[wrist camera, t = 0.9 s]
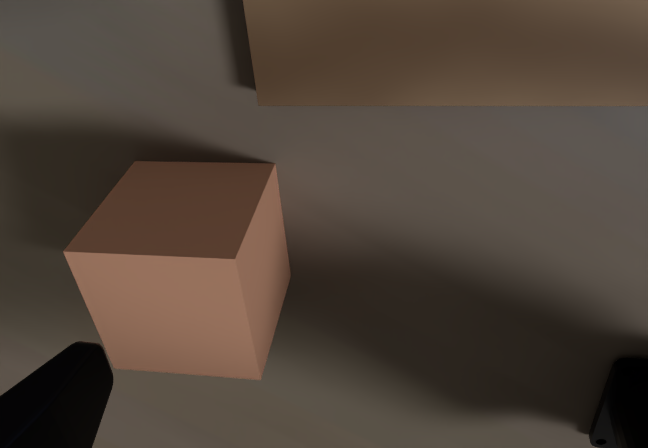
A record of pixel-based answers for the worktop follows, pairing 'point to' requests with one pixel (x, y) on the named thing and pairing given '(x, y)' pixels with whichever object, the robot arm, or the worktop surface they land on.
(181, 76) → the worktop surface
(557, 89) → the walnut board
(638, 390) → the robot arm
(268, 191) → the terracotta cube
